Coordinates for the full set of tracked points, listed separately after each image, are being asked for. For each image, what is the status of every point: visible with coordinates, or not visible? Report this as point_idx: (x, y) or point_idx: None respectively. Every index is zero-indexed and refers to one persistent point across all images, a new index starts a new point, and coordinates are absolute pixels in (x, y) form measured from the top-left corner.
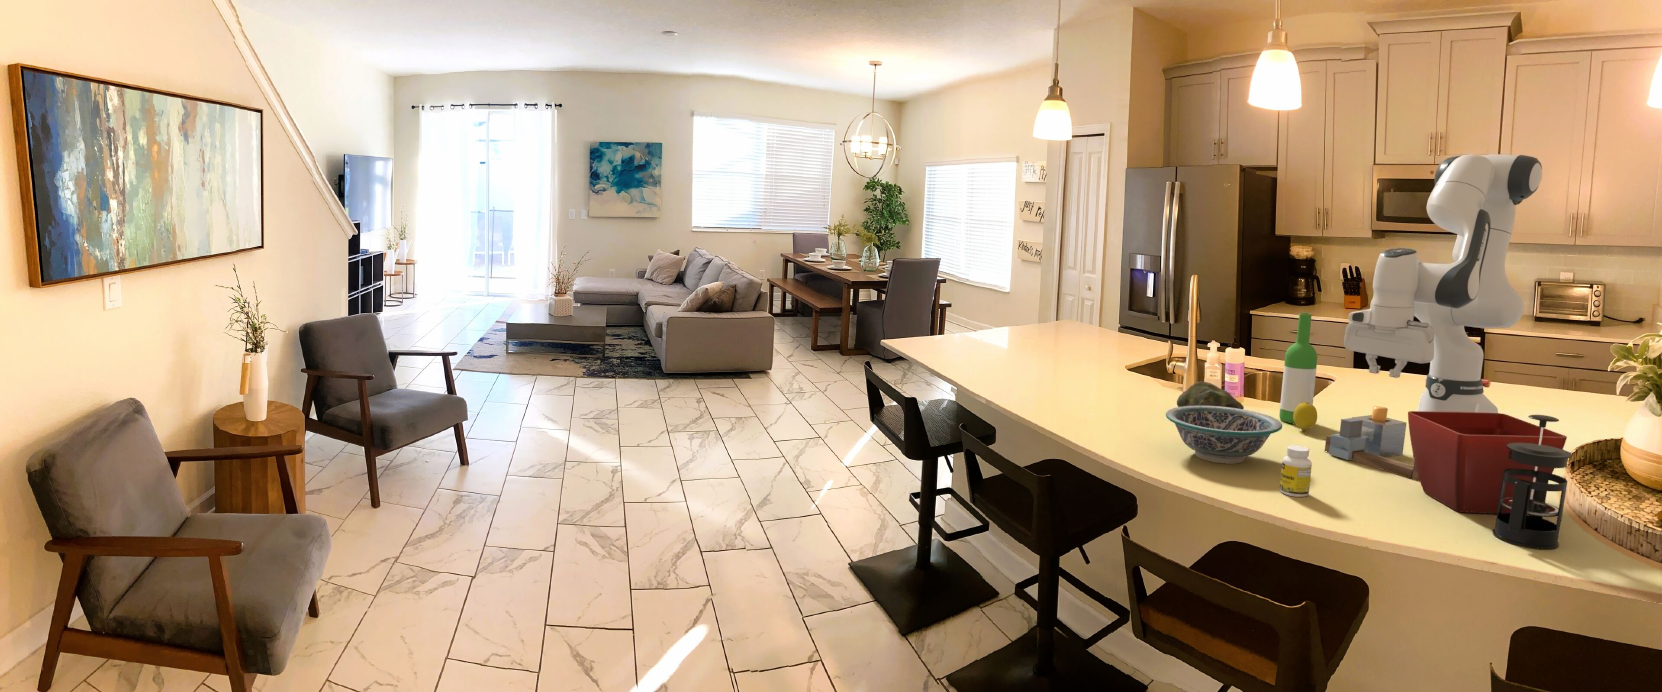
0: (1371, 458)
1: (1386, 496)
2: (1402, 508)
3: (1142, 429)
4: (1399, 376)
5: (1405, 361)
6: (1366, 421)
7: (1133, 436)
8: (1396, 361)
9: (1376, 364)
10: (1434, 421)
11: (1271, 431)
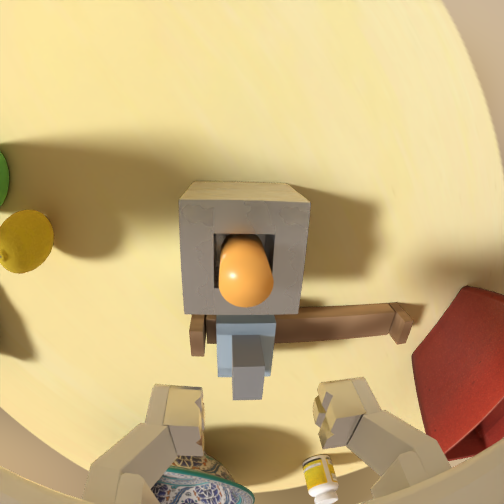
0: (309, 339)
1: (384, 402)
2: (406, 408)
3: (48, 429)
4: (362, 380)
5: (435, 464)
6: (239, 314)
7: (80, 452)
8: (382, 495)
9: (164, 435)
10: (464, 417)
11: (254, 498)
